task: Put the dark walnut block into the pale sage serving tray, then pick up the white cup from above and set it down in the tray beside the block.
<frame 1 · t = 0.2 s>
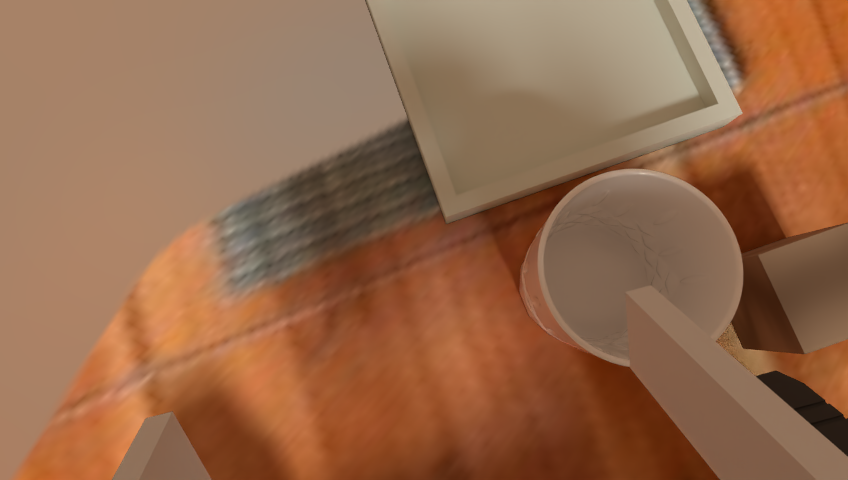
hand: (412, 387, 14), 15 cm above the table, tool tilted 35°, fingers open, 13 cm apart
white cup: (575, 284, 29), on the table
tray: (525, 35, 32), on the table
walnut block: (764, 292, 29), on the table
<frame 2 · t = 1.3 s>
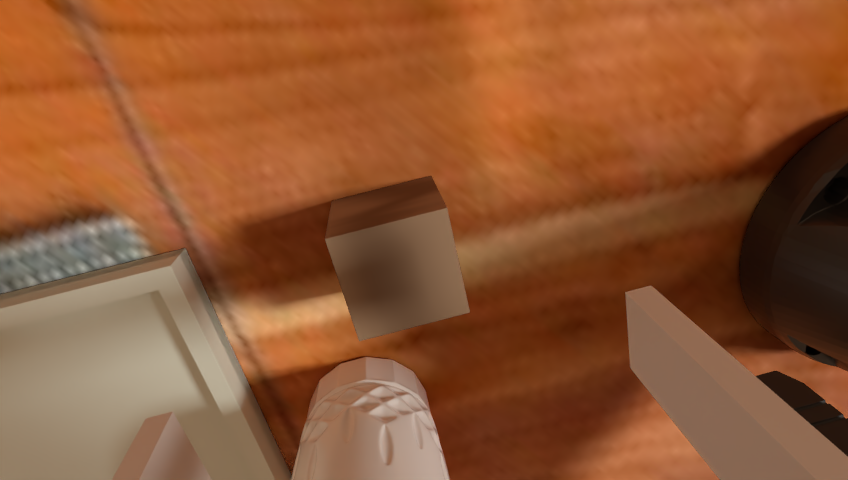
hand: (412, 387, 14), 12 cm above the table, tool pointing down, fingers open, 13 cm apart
white cup: (369, 400, 29), on the table
tray: (76, 434, 27), on the table
walnut block: (393, 233, 25), on the table
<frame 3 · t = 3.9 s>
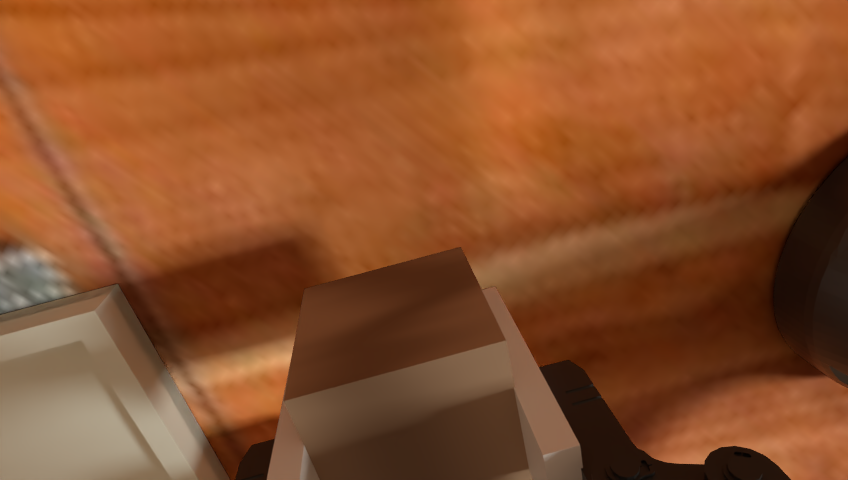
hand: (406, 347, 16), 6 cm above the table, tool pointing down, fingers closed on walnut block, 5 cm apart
walnut block: (402, 332, 16), point 5 cm above the table, touching gripper
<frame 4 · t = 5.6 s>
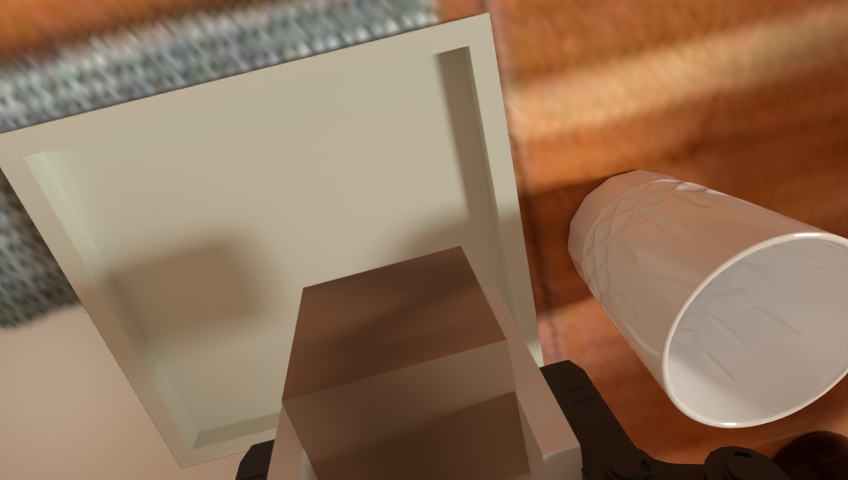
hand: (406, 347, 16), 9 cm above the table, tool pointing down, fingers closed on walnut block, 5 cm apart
white cup: (626, 229, 26), on the table
tray: (315, 257, 24), on the table
walnut block: (401, 332, 16), point 9 cm above the table, touching gripper
supplement bottle: (804, 463, 35), on the table
when the fingers open (1 cm above the table, at t = 7.2 s): walnut block stays where it is, resting on tray.
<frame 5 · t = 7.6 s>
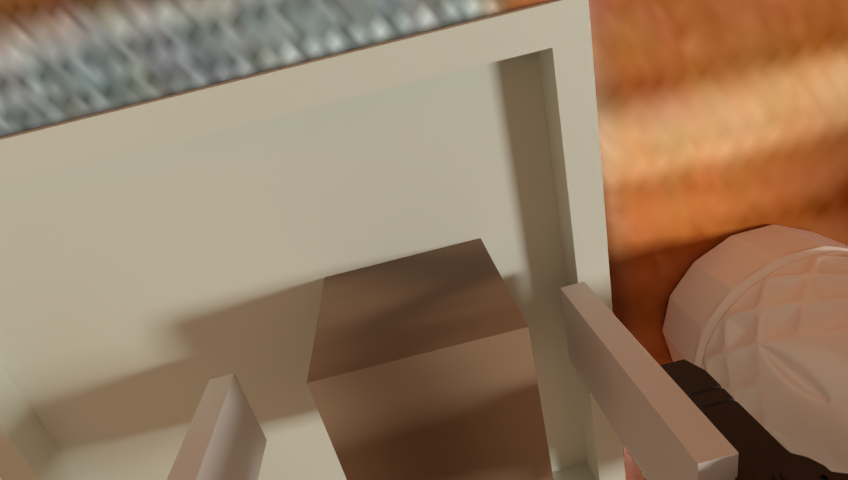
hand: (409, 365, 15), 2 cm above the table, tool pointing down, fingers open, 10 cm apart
white cup: (743, 303, 19), on the table
tray: (309, 346, 17), on the table
walnut block: (420, 323, 16), point 1 cm above the table, touching tray
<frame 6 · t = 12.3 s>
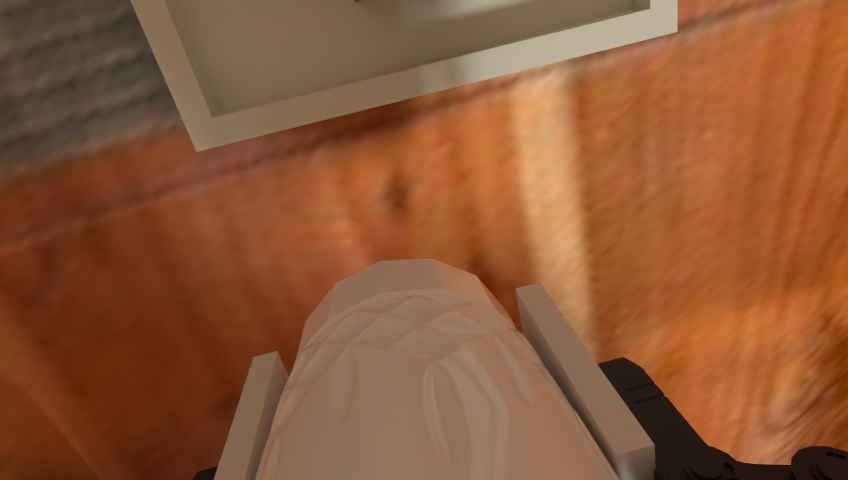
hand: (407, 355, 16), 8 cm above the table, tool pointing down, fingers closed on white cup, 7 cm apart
white cup: (406, 345, 16), point 7 cm above the table, touching gripper
when the fingers open (2 cm above the table, at t = 16.2 s): white cup drops 1 cm, resting on tray.
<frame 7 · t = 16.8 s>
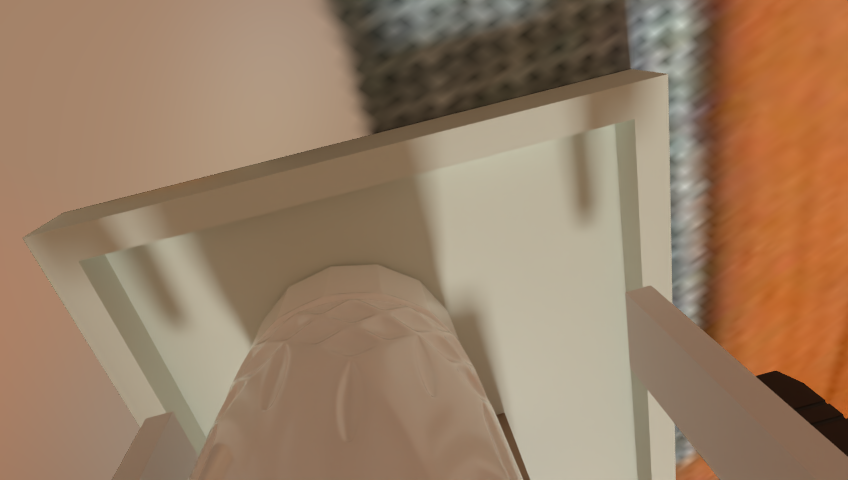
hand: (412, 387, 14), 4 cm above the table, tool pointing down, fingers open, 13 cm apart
white cup: (358, 344, 17), point 1 cm above the table, touching tray
tray: (422, 388, 19), on the table
walnut block: (455, 474, 20), point 1 cm above the table, touching tray
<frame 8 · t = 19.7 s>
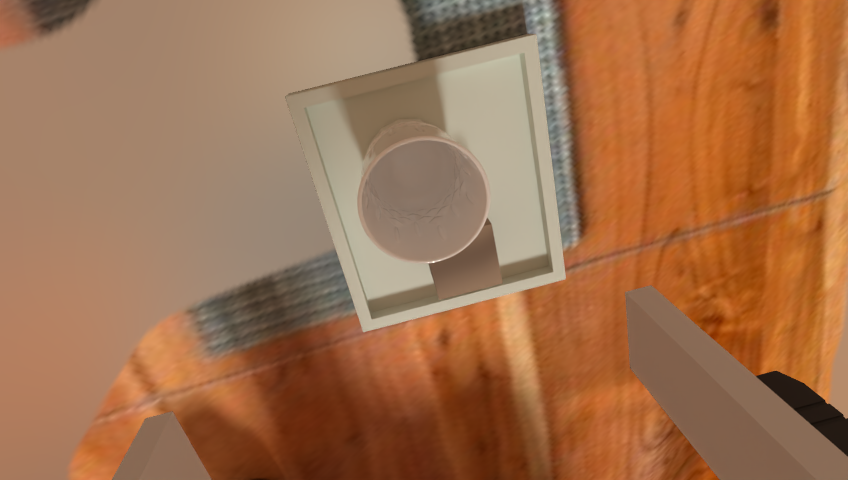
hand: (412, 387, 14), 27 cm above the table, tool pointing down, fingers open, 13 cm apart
white cup: (408, 161, 38), point 1 cm above the table, touching tray
tray: (437, 190, 40), on the table
walnut block: (452, 237, 41), point 1 cm above the table, touching tray
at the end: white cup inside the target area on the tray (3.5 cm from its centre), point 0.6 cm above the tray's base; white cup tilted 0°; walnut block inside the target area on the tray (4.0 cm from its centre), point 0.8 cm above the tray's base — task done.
